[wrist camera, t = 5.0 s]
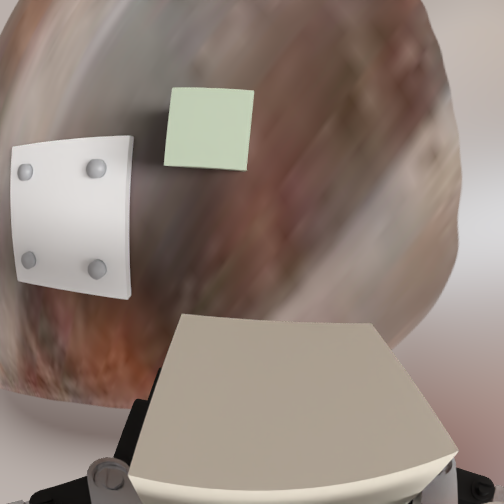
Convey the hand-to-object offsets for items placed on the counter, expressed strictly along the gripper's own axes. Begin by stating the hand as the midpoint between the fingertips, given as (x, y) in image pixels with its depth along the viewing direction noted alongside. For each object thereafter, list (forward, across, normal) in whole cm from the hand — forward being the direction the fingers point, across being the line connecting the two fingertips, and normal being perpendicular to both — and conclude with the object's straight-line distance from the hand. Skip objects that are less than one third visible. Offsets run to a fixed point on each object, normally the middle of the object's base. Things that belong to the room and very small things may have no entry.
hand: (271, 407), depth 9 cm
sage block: (+16, +4, -10) cm, 19 cm away
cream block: (+1, 0, 0) cm, 1 cm away
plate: (+16, +18, -3) cm, 24 cm away
